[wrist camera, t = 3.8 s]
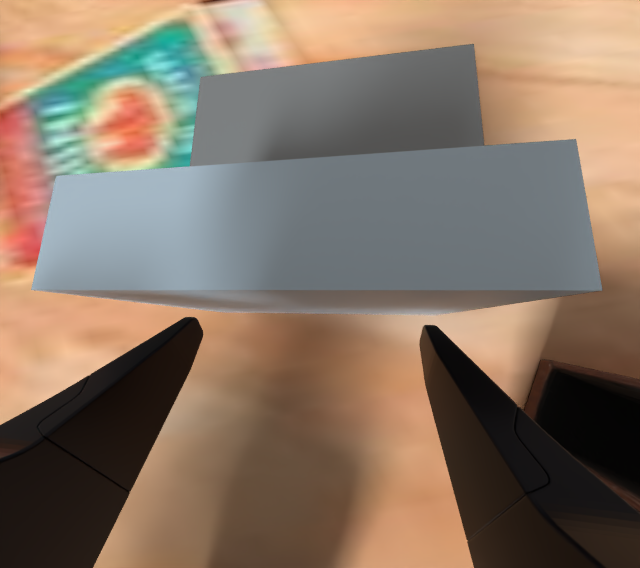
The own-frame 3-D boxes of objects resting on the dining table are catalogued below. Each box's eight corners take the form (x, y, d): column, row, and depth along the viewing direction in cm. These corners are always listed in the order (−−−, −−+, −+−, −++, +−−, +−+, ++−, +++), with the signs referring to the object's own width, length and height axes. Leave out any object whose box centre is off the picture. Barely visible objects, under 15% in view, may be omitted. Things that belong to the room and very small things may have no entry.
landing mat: (489, 232, 18) (492, 230, 18) (184, 240, 21) (181, 239, 21) (471, 49, 21) (473, 43, 20) (203, 81, 24) (200, 77, 23)
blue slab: (436, 315, 18) (602, 290, 6) (223, 312, 20) (31, 289, 8) (432, 260, 18) (576, 139, 6) (227, 263, 20) (56, 176, 9)
